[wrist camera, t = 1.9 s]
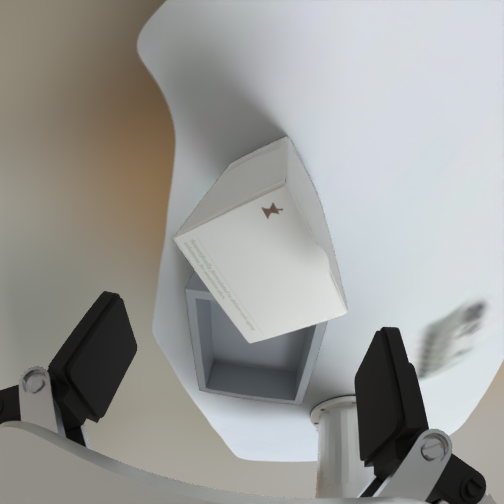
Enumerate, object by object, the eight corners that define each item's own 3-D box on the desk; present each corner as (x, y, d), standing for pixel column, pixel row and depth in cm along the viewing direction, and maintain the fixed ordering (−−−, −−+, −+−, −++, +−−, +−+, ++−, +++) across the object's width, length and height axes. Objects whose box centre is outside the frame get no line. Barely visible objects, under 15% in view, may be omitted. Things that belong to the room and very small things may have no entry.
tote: (302, 371, 40) (301, 404, 35) (209, 359, 42) (199, 390, 37) (327, 271, 31) (331, 306, 26) (202, 257, 33) (184, 288, 28)
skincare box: (229, 162, 27) (161, 232, 14) (292, 132, 25) (287, 172, 11) (269, 234, 30) (244, 349, 17) (328, 209, 28) (352, 318, 15)
